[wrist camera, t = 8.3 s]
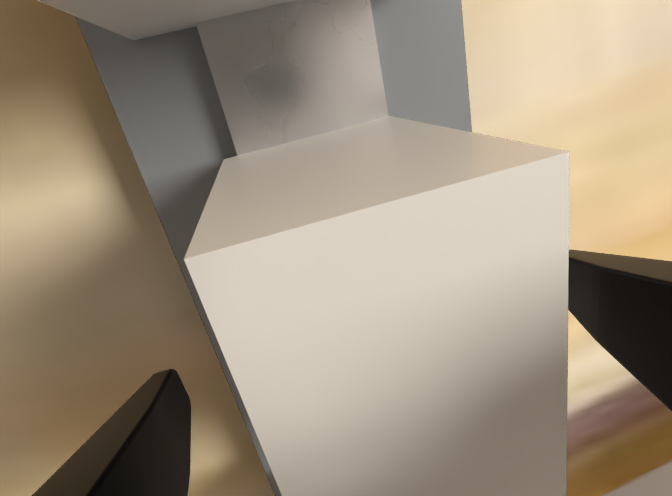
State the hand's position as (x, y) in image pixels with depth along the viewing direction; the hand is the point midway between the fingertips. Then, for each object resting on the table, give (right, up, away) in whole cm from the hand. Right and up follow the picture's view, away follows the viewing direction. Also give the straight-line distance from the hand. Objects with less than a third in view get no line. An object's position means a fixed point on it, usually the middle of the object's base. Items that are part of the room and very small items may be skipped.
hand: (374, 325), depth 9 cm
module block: (-1, +1, +3) cm, 3 cm away
